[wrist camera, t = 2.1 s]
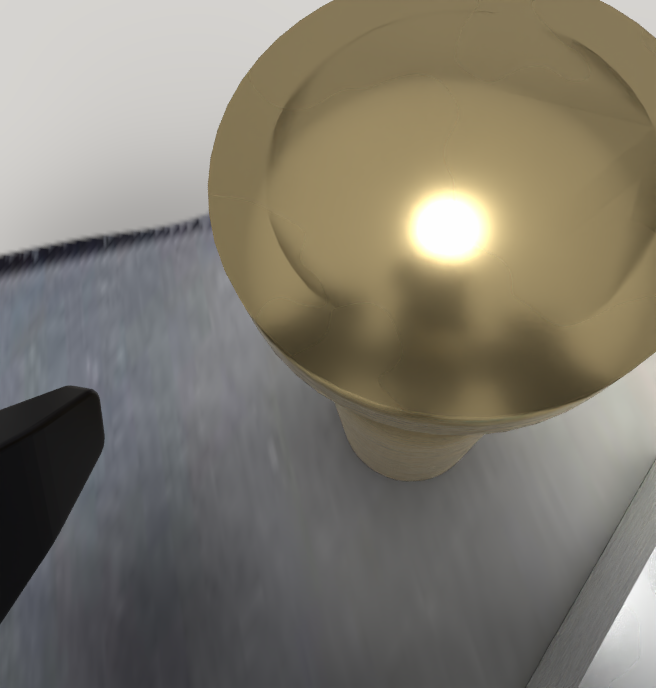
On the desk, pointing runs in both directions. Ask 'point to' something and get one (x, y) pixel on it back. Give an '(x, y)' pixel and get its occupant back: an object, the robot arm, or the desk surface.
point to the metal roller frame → (612, 611)
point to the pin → (445, 214)
